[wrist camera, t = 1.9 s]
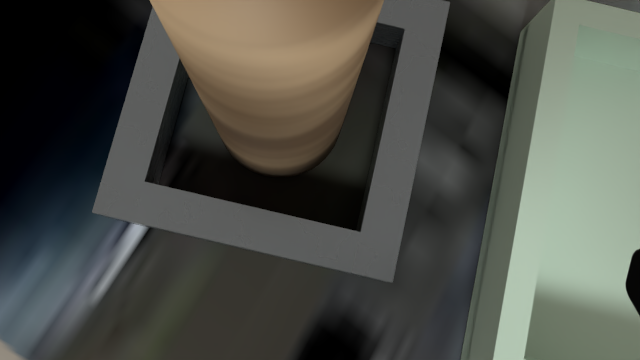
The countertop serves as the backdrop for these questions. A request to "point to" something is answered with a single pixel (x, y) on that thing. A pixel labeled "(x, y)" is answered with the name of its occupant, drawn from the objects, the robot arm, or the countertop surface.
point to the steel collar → (262, 225)
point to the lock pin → (273, 72)
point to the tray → (564, 195)
